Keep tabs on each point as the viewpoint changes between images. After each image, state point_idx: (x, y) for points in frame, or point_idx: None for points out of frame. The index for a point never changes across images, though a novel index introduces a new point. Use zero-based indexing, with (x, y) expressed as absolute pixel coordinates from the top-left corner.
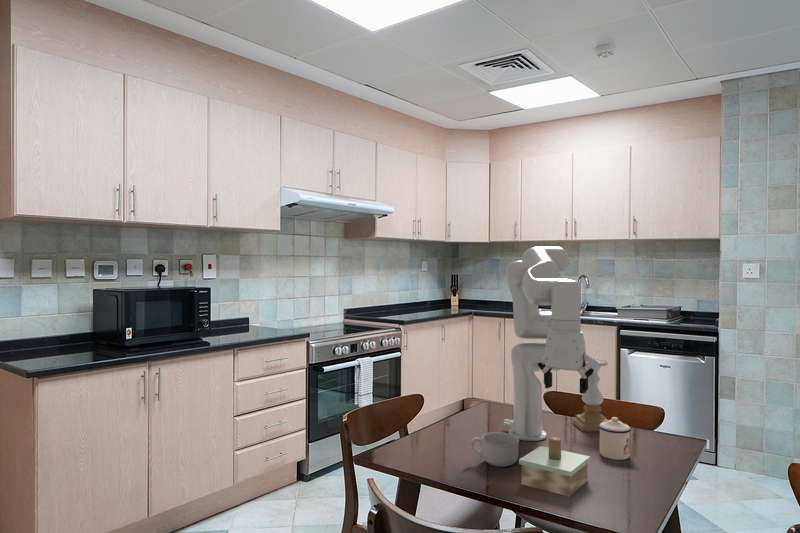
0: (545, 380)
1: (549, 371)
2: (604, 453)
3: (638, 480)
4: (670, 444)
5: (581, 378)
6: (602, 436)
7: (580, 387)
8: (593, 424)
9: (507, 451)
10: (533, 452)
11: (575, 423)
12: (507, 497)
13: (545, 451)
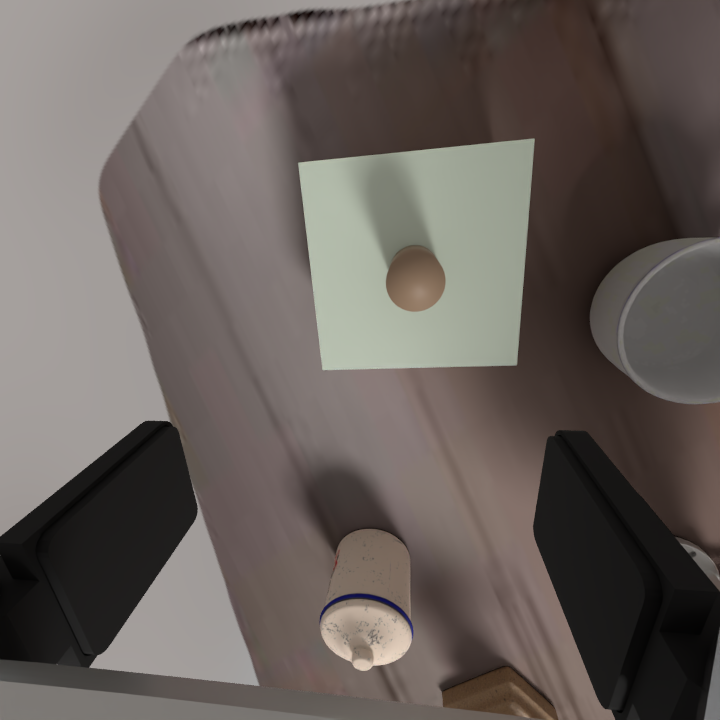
0: (627, 492)
1: (662, 710)
2: (386, 539)
3: (258, 435)
4: (304, 668)
5: (7, 547)
6: (392, 582)
7: (124, 455)
8: (488, 699)
9: (634, 272)
10: (512, 272)
11: (543, 703)
12: (500, 25)
13: (474, 315)
